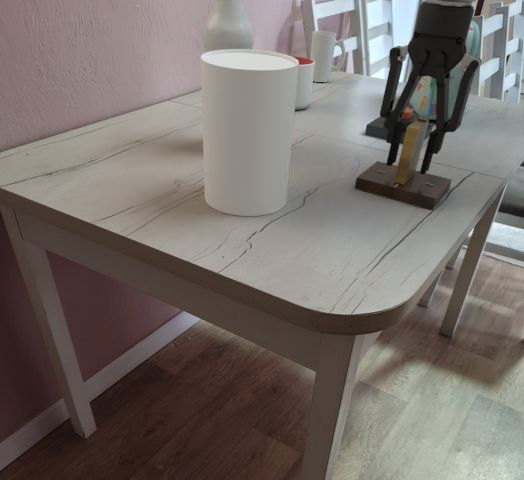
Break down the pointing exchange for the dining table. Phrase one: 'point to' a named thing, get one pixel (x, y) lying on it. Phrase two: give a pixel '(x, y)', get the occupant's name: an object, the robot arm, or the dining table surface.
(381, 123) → the push button base
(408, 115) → the bell button
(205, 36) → the white bottle
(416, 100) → the lunch box
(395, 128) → the robot arm
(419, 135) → the block
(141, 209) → the dining table surface
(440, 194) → the plate
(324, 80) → the mug
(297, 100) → the cup
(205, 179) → the canister
